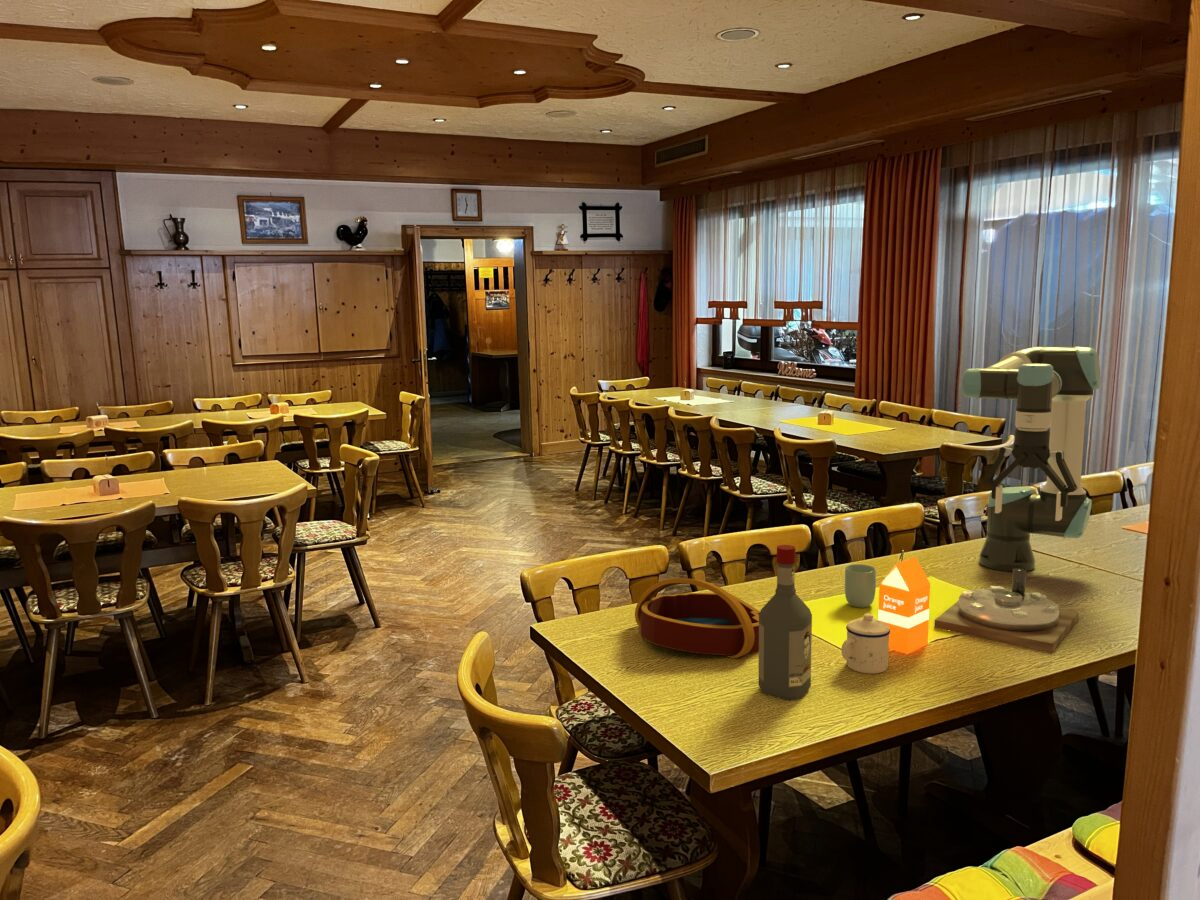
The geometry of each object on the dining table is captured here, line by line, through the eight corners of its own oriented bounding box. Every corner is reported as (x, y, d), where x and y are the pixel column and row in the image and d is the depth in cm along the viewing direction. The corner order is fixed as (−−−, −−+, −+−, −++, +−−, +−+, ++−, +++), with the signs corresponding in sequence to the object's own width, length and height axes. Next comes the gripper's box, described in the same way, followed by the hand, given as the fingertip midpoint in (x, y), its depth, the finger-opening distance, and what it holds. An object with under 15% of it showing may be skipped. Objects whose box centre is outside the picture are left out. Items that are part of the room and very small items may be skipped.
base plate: (968, 599, 229) (968, 591, 229) (1078, 619, 213) (1079, 610, 213) (934, 627, 210) (934, 618, 209) (1052, 652, 193) (1053, 642, 193)
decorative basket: (788, 654, 202) (794, 590, 201) (705, 670, 183) (711, 600, 182) (682, 620, 227) (686, 563, 227) (599, 632, 208) (604, 570, 207)
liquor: (754, 693, 176) (755, 549, 171) (772, 677, 184) (773, 539, 179) (797, 703, 171) (799, 555, 166) (814, 686, 178) (816, 544, 174)
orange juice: (877, 644, 200) (879, 560, 197) (898, 635, 205) (900, 553, 202) (907, 654, 194) (910, 567, 191) (928, 644, 200) (932, 560, 196)
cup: (841, 607, 225) (842, 570, 224) (847, 598, 232) (848, 562, 231) (872, 612, 222) (873, 574, 220) (877, 602, 228) (878, 566, 227)
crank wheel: (1045, 637, 196) (1047, 599, 194) (945, 617, 210) (947, 582, 208) (1068, 611, 212) (1070, 575, 211) (974, 594, 226) (975, 561, 225)
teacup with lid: (866, 655, 194) (867, 605, 192) (898, 668, 186) (900, 616, 185) (826, 666, 188) (827, 615, 186) (858, 681, 180) (859, 627, 179)
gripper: (973, 427, 212) (969, 512, 215) (1087, 434, 196) (1081, 526, 199) (983, 423, 218) (979, 506, 221) (1095, 430, 201) (1089, 520, 205)
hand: (1027, 516), depth 210 cm, fingers open, 13 cm apart
